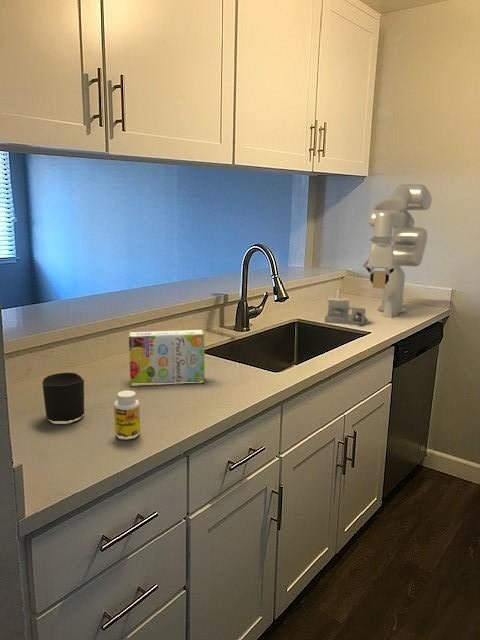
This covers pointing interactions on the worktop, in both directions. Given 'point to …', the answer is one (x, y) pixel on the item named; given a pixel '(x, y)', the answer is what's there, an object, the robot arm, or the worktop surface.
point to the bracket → (343, 313)
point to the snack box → (166, 356)
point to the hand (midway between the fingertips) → (379, 282)
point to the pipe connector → (338, 297)
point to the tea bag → (391, 306)
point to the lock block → (379, 279)
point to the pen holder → (63, 396)
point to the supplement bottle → (127, 414)
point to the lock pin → (358, 316)
